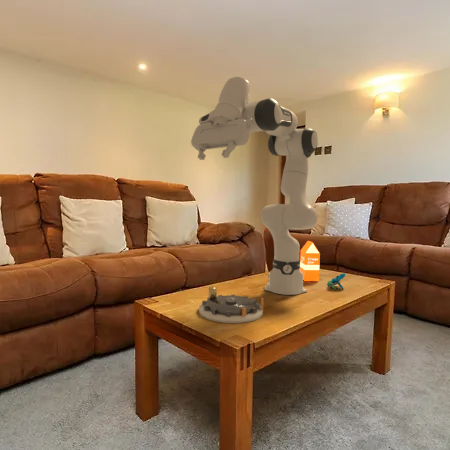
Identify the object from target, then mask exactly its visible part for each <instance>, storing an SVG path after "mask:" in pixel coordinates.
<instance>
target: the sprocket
mask: <svg viewBox="0 0 450 450" xmlns="http://www.w3.org/2000/svg"><path fill="white" fill-rule="evenodd" d="M217 289H218V287H216V286H209V287H208V297H207V298H206V299H207V300H202V302H201V304H202V306H203V310H209V311H211V312H212V314H214V315H215V314H222V315H226V316H227V317H230V316H231V315H241V316H246V314H248V313H257V309H260V305H261V303H258V299H256V298H254V299H252V298H249V296H247V295H243V296H241V295H236V294H230V295H222V294H218V292H217V291H218V290H217Z"/></svg>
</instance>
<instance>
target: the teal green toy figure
mask: <svg viewBox="0 0 450 450" xmlns="http://www.w3.org/2000/svg"><path fill="white" fill-rule="evenodd" d="M345 277H346V273H345V272H344V273H340V274H338V275H336V276H335V277H333V278H331V280H328V281H327V283H326V286H327V287H328V286H329V287H331V288H332V289H333V288H334V289H336V287H335V286H336V285H338V286H339V288H340V287H341V288H343V289H344V287H343V285H342V284H341V280H343V279H344V278H345ZM341 288H340V289H341ZM334 289H333V290H334Z"/></svg>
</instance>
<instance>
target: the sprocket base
mask: <svg viewBox="0 0 450 450" xmlns="http://www.w3.org/2000/svg"><path fill="white" fill-rule="evenodd" d="M264 299H265V298H264V297H261V298H260V309H257V313H248V314H246V316H241V315H231V316H230V317H227V316H226V315H222V314H215V315H214V314H212V312H211V311H209V310H203V306H202V303H200V305H199V307H198V313H199V315H200V316H201V317H202V318H204V319H206V320H209V321H213V322H217V323H223V324H242V323H243V324H245V323H251V322H254V321H257V320H259V319H260V318H262V317H263V315H264V313H263V312H264Z"/></svg>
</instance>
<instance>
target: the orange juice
mask: <svg viewBox="0 0 450 450" xmlns="http://www.w3.org/2000/svg"><path fill="white" fill-rule="evenodd" d="M320 256H321V253H320V251H319V250H318V248H317V247H316V245H315V244H314V242H313V241H310V240H307V241H306V242H305V244H304V245H303V246H302V247H301V248H300V253H299V260H300V271H301V272H302V273H303V280H304V281H320V265H321V263H320V261H321V260H320V259H321V257H320ZM304 281H303V282H304Z"/></svg>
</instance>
